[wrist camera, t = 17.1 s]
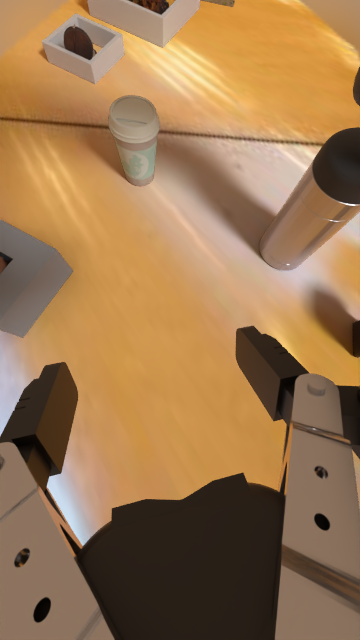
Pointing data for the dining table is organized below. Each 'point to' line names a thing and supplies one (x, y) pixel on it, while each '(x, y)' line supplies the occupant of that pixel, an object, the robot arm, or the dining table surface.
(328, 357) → the dining table surface
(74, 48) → the dark brown rounded piece
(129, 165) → the coffee cup
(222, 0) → the speckled stone tile
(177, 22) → the cactus tray
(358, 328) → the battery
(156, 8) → the cactus
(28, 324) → the hole block
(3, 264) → the pin
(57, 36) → the tray
